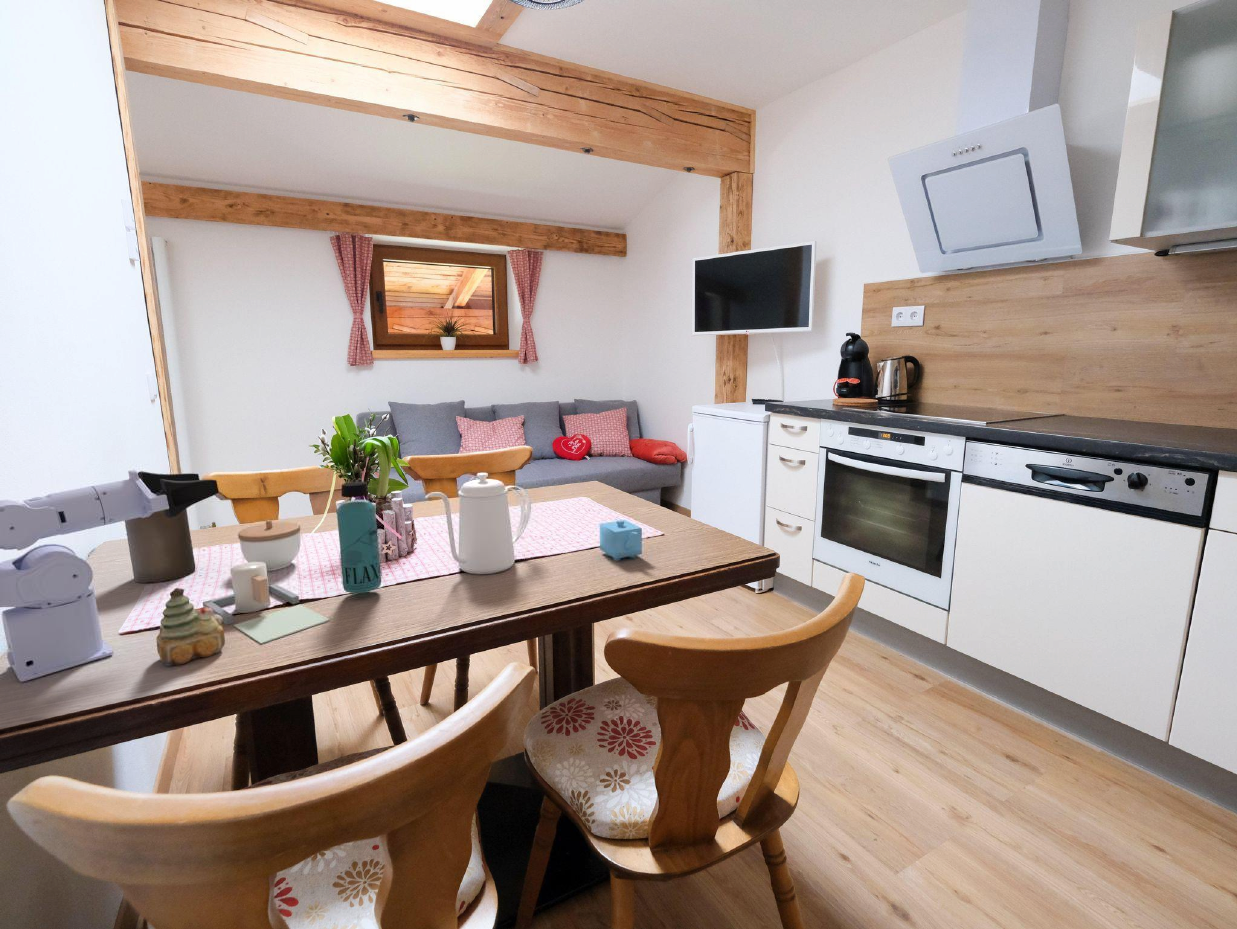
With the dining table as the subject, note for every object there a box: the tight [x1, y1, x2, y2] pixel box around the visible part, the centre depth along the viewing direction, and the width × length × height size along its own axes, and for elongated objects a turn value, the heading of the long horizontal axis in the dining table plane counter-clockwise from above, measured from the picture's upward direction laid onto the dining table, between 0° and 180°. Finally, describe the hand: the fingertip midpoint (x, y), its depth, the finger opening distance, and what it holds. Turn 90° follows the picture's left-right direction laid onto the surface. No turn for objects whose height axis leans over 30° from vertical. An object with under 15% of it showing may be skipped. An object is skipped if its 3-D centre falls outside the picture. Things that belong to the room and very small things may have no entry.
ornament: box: [156, 587, 226, 667], centre depth 84 cm, size 8×6×10 cm
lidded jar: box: [237, 519, 302, 572], centre depth 120 cm, size 11×11×9 cm
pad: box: [233, 603, 330, 645], centre depth 94 cm, size 10×10×1 cm
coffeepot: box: [424, 472, 532, 575], centre depth 117 cm, size 11×25×19 cm, turn 143°
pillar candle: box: [124, 508, 196, 584], centre depth 116 cm, size 10×10×15 cm
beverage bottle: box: [335, 481, 383, 594], centre depth 104 cm, size 6×7×20 cm
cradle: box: [202, 582, 300, 626], centre depth 101 cm, size 11×10×1 cm
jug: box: [230, 562, 271, 614], centre depth 99 cm, size 8×5×7 cm, turn 52°
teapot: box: [599, 519, 643, 562], centre depth 123 cm, size 12×6×8 cm, turn 27°
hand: (207, 482), depth 95 cm, fingers open, 7 cm apart
